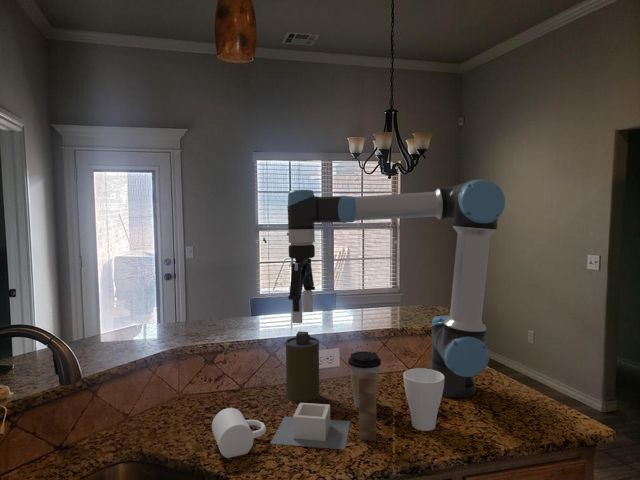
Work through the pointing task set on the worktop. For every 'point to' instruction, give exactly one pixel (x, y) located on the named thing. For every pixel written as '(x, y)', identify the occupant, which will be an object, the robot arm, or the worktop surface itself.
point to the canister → (302, 367)
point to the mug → (235, 432)
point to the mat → (333, 440)
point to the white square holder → (311, 421)
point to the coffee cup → (362, 369)
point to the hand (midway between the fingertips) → (303, 317)
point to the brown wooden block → (367, 406)
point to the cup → (423, 396)
